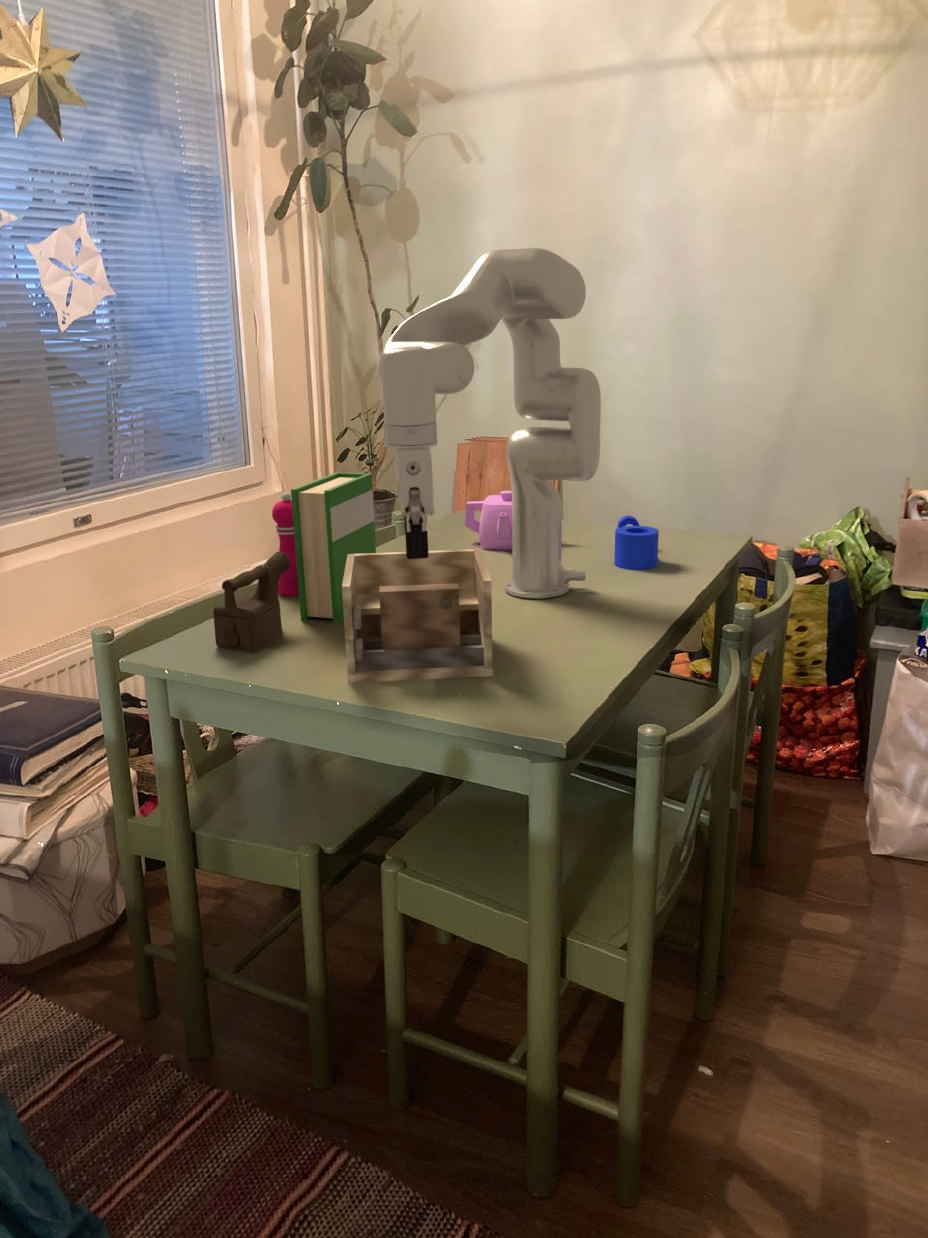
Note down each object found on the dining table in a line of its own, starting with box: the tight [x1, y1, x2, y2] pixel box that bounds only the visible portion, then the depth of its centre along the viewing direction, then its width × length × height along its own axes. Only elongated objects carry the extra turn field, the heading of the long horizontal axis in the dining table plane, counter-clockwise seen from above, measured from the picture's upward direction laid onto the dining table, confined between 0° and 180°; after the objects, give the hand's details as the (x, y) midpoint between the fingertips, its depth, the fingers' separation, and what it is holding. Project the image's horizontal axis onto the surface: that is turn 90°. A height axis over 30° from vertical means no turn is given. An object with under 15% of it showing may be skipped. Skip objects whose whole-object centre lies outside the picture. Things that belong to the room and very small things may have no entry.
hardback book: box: [290, 471, 377, 625], centre depth 181 cm, size 18×7×24 cm, turn 161°
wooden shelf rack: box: [342, 548, 494, 684], centre depth 155 cm, size 22×19×15 cm
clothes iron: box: [212, 551, 290, 653], centre depth 167 cm, size 8×16×13 cm, turn 154°
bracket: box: [613, 514, 660, 571], centre depth 213 cm, size 20×9×8 cm, turn 178°
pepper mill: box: [271, 491, 299, 597], centre depth 192 cm, size 7×7×20 cm
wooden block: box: [379, 583, 460, 650], centre depth 150 cm, size 12×4×12 cm, turn 94°
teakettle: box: [464, 490, 512, 551], centre depth 228 cm, size 17×17×12 cm
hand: (416, 549), depth 147 cm, fingers open, 9 cm apart
